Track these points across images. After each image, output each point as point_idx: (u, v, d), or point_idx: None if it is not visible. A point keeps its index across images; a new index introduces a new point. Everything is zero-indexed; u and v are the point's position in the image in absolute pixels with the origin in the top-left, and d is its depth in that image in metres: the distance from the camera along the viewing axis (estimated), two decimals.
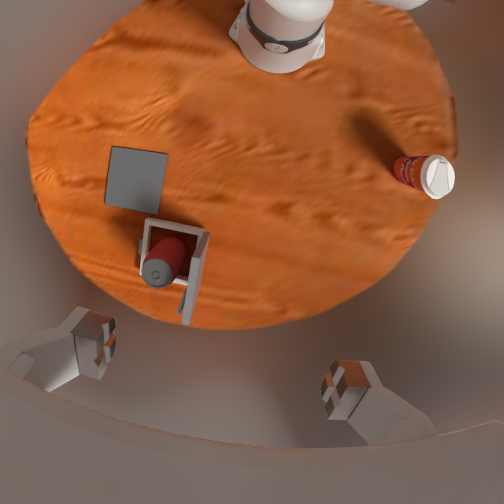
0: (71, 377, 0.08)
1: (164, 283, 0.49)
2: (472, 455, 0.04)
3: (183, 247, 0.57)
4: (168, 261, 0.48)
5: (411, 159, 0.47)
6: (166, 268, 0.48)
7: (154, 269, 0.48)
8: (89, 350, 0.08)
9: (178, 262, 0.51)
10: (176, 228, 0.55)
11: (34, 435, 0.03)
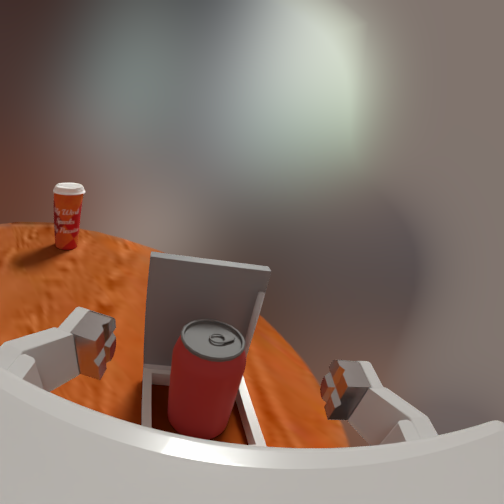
0: (71, 377, 0.08)
1: (228, 330, 0.26)
2: (472, 455, 0.04)
3: None
4: None
5: (56, 219, 0.53)
6: (196, 328, 0.25)
7: (206, 343, 0.23)
8: (89, 350, 0.08)
9: None
10: (146, 401, 0.26)
11: (34, 435, 0.03)
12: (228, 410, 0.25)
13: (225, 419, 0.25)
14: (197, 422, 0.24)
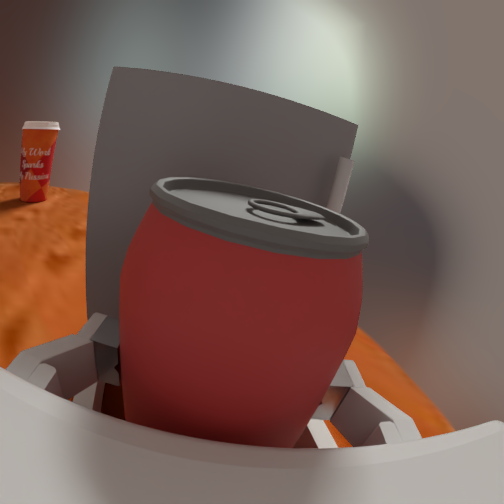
0: (89, 384, 0.08)
1: None
2: (472, 455, 0.04)
3: None
4: None
5: (21, 163, 0.36)
6: (205, 193, 0.08)
7: (241, 214, 0.07)
8: (109, 357, 0.08)
9: None
10: None
11: (34, 435, 0.03)
12: (292, 447, 0.08)
13: None
14: None
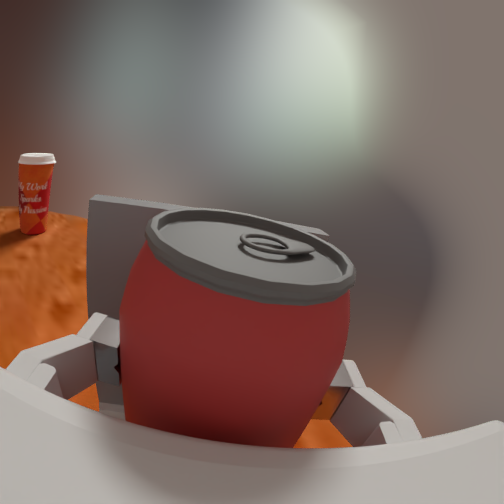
0: (89, 384, 0.08)
1: (285, 237, 0.10)
2: (472, 455, 0.04)
3: None
4: None
5: (20, 196, 0.38)
6: (198, 224, 0.09)
7: (233, 253, 0.07)
8: (109, 357, 0.08)
9: None
10: None
11: (34, 435, 0.03)
12: None
13: None
14: None
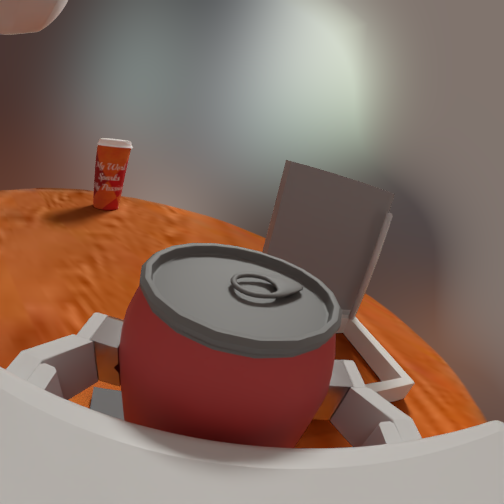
0: (90, 384, 0.08)
1: (274, 271, 0.10)
2: (472, 455, 0.04)
3: None
4: None
5: (98, 175, 0.50)
6: (190, 262, 0.09)
7: (225, 299, 0.07)
8: (110, 357, 0.08)
9: None
10: None
11: (34, 435, 0.03)
12: None
13: None
14: None
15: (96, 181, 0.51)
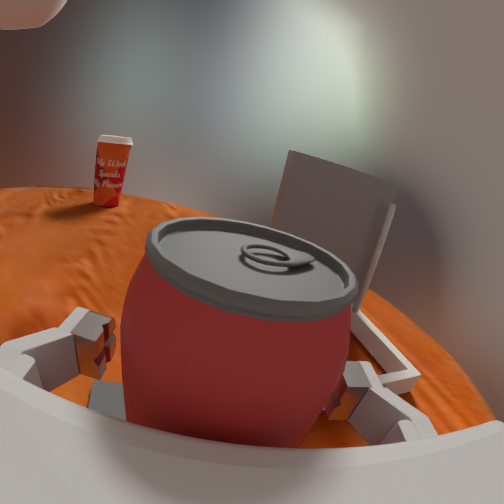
0: (71, 377, 0.08)
1: (284, 246, 0.10)
2: (472, 455, 0.04)
3: None
4: None
5: (98, 172, 0.50)
6: (197, 234, 0.09)
7: (235, 266, 0.07)
8: (89, 350, 0.08)
9: None
10: None
11: (34, 435, 0.03)
12: None
13: None
14: None
15: (96, 178, 0.50)
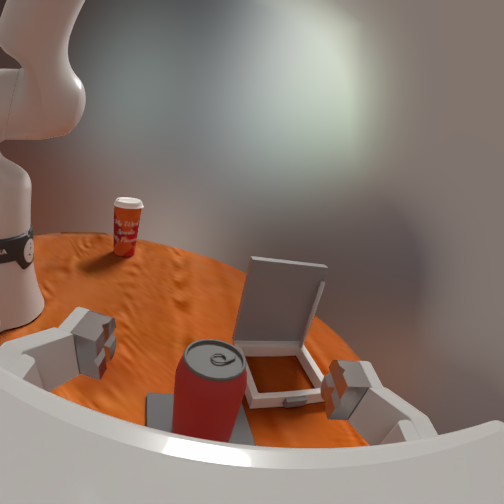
0: (71, 377, 0.08)
1: (228, 349, 0.26)
2: (472, 455, 0.04)
3: None
4: None
5: (117, 230, 0.67)
6: (197, 348, 0.25)
7: (209, 364, 0.24)
8: (89, 350, 0.08)
9: None
10: None
11: (34, 435, 0.03)
12: (232, 424, 0.25)
13: (229, 432, 0.26)
14: (203, 438, 0.24)
15: (115, 234, 0.67)
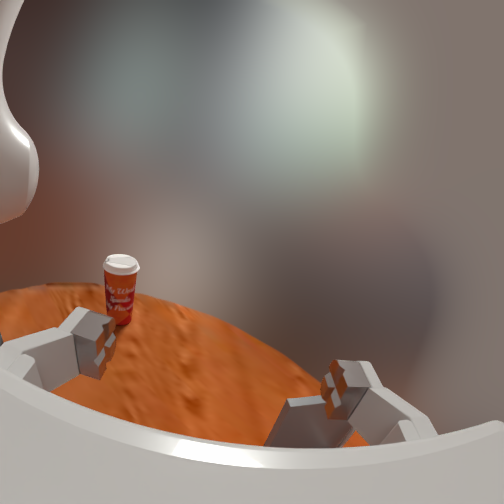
0: (71, 377, 0.08)
1: None
2: (472, 455, 0.04)
3: None
4: None
5: (109, 297, 0.54)
6: None
7: None
8: (89, 350, 0.08)
9: None
10: None
11: (34, 435, 0.03)
12: None
13: None
14: None
15: (108, 301, 0.55)
